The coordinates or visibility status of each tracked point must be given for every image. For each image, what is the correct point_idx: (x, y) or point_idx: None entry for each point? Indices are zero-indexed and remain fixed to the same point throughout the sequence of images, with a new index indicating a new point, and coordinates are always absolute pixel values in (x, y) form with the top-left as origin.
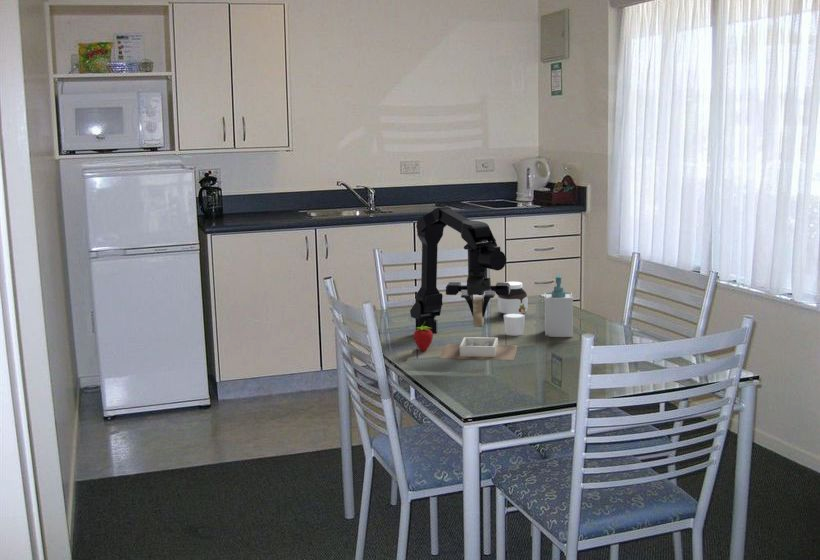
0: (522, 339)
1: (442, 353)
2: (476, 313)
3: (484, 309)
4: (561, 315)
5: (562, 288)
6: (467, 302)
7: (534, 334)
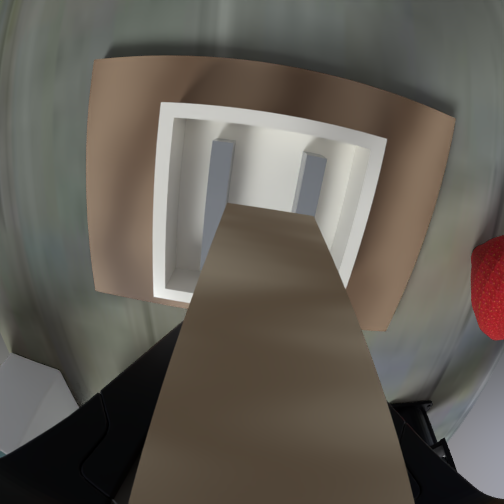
0: (110, 368)
1: (435, 193)
2: (295, 292)
3: (148, 374)
4: (1, 400)
5: None
6: (460, 476)
7: (93, 395)
